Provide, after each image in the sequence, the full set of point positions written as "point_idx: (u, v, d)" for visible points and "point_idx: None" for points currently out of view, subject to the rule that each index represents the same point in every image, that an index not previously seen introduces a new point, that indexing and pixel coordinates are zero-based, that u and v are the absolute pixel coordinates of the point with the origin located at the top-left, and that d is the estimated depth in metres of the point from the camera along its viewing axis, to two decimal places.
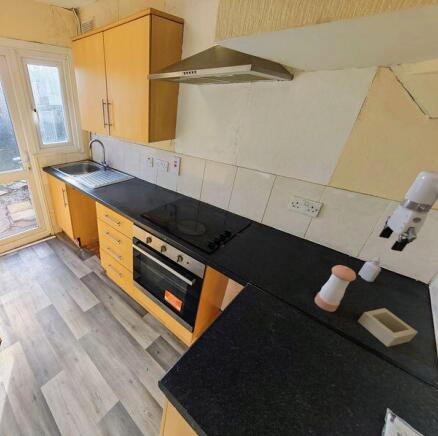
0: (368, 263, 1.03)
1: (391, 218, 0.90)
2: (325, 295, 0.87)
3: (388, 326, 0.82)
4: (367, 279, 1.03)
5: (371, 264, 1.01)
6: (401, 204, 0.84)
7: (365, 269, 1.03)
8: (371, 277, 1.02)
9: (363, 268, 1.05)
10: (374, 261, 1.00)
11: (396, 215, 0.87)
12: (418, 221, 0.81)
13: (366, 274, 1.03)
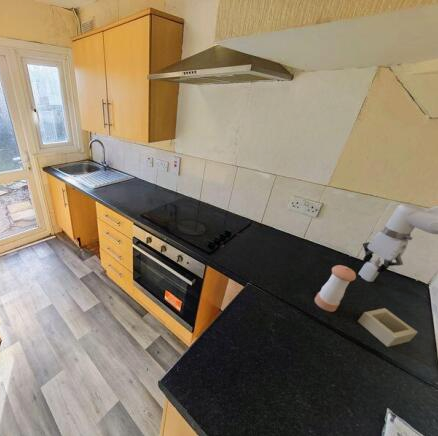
0: (368, 263, 1.03)
1: (373, 244, 0.99)
2: (325, 295, 0.87)
3: (388, 326, 0.82)
4: (367, 279, 1.03)
5: (371, 264, 1.01)
6: (387, 234, 0.93)
7: (366, 269, 1.03)
8: (371, 277, 1.02)
9: (363, 268, 1.05)
10: (374, 261, 1.00)
11: (380, 242, 0.97)
12: (403, 247, 0.92)
13: (366, 274, 1.03)
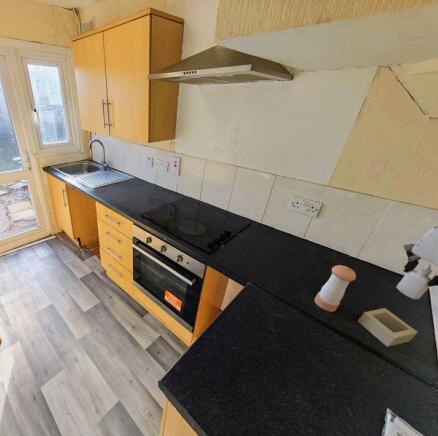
0: (413, 273, 0.72)
1: (421, 246, 0.69)
2: (325, 295, 0.87)
3: (388, 326, 0.82)
4: (411, 295, 0.73)
5: (418, 275, 0.71)
6: None
7: (408, 282, 0.73)
8: (417, 293, 0.72)
9: (404, 280, 0.75)
10: (422, 270, 0.70)
11: (433, 243, 0.67)
12: None
13: (410, 288, 0.73)
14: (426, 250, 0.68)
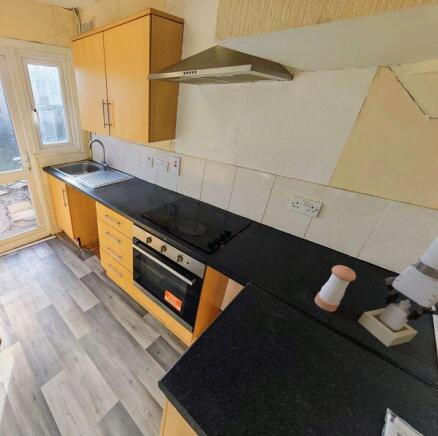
0: (393, 306, 0.76)
1: (401, 282, 0.73)
2: (325, 295, 0.87)
3: None
4: (392, 327, 0.77)
5: (398, 308, 0.75)
6: (423, 272, 0.67)
7: (389, 314, 0.77)
8: (397, 325, 0.76)
9: (386, 311, 0.78)
10: (402, 304, 0.74)
11: (411, 281, 0.70)
12: None
13: (391, 320, 0.77)
14: (405, 286, 0.72)
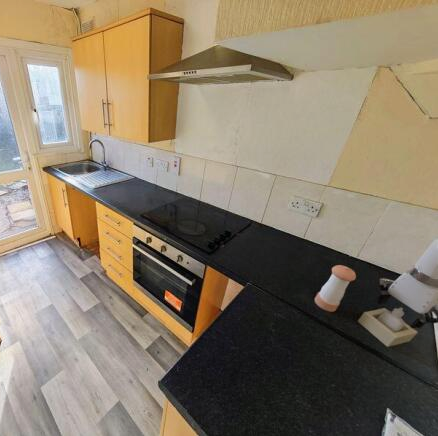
0: (387, 314, 0.78)
1: (396, 288, 0.74)
2: (325, 295, 0.87)
3: None
4: None
5: (391, 316, 0.77)
6: (417, 279, 0.68)
7: (383, 321, 0.79)
8: None
9: (380, 319, 0.80)
10: (395, 312, 0.76)
11: (406, 287, 0.72)
12: None
13: None
14: (400, 292, 0.73)
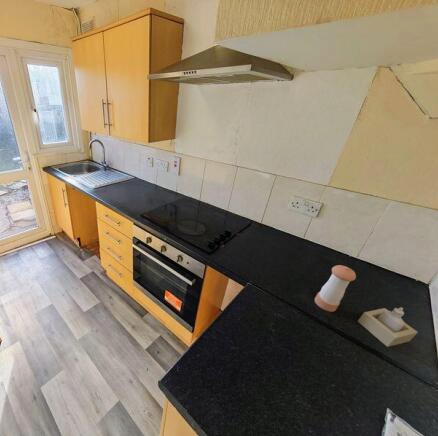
0: (387, 314, 0.78)
1: None
2: (325, 295, 0.87)
3: None
4: None
5: (391, 316, 0.77)
6: None
7: (383, 321, 0.79)
8: None
9: (380, 319, 0.80)
10: (395, 312, 0.76)
11: None
12: None
13: None
14: None
